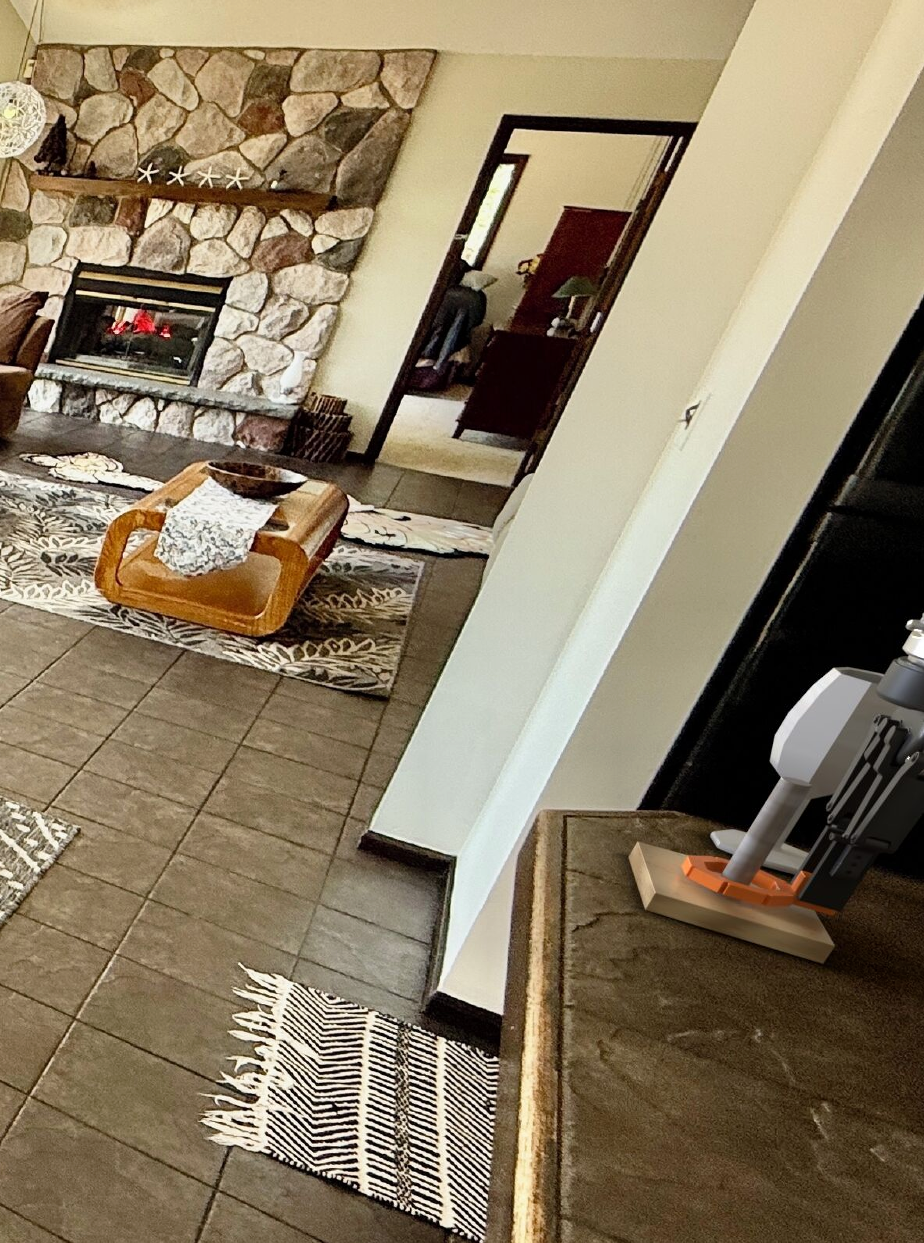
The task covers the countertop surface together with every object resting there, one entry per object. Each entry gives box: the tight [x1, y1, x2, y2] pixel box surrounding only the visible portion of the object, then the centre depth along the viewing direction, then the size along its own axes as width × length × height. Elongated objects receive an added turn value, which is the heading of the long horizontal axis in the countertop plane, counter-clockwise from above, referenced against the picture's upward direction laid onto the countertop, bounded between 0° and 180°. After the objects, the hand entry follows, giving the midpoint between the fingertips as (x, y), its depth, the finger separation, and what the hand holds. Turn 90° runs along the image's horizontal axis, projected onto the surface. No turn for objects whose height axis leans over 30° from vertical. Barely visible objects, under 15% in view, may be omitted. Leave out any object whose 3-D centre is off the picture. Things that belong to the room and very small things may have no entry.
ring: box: [682, 855, 837, 916], centre depth 112 cm, size 10×7×3 cm
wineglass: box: [710, 666, 899, 876], centre depth 121 cm, size 9×9×21 cm
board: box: [628, 777, 836, 965], centre depth 112 cm, size 12×14×14 cm
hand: (814, 897), depth 110 cm, fingers closed on ring, 3 cm apart
